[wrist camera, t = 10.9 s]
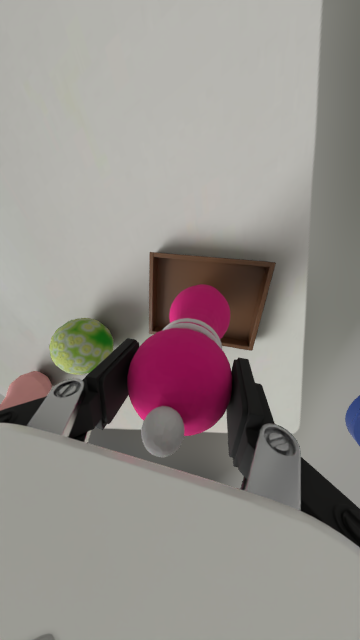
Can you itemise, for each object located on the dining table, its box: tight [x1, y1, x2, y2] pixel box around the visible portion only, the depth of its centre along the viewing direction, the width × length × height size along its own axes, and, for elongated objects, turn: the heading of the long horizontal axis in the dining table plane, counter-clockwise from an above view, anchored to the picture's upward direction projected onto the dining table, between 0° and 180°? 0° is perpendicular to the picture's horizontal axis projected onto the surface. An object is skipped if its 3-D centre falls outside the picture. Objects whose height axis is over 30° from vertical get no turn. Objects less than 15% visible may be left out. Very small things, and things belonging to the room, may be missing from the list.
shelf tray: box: [149, 252, 276, 351], centre depth 27 cm, size 17×13×3 cm
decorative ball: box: [49, 318, 114, 375], centre depth 31 cm, size 10×10×10 cm
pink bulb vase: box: [0, 371, 52, 411], centre depth 39 cm, size 8×8×12 cm
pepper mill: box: [127, 284, 232, 457], centre depth 15 cm, size 7×7×20 cm
